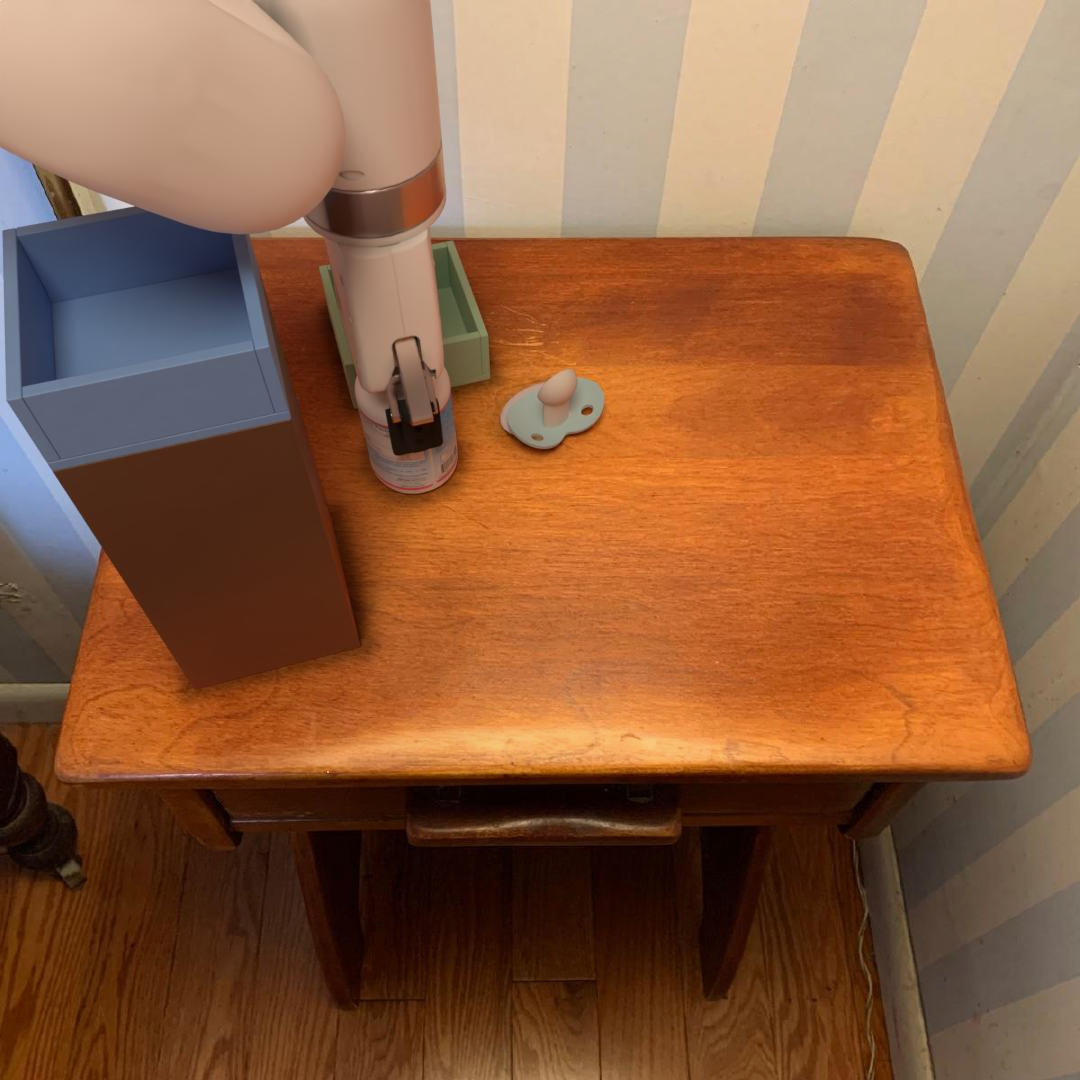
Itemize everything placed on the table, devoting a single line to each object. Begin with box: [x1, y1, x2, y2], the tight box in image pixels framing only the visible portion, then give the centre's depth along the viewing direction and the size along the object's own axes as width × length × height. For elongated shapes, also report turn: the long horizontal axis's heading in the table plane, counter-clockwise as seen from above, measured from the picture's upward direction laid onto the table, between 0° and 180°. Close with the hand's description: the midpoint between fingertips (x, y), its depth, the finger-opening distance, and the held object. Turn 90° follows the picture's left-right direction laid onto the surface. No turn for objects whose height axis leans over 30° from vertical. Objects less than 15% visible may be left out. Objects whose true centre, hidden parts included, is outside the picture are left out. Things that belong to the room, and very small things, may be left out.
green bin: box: [318, 240, 491, 410], centre depth 76 cm, size 10×10×5 cm
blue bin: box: [1, 206, 361, 690], centre depth 54 cm, size 10×10×27 cm
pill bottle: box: [355, 359, 459, 495], centre depth 67 cm, size 6×6×11 cm
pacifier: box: [499, 368, 605, 450], centre depth 71 cm, size 7×6×6 cm
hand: (405, 405), depth 66 cm, fingers closed on pill bottle, 6 cm apart
